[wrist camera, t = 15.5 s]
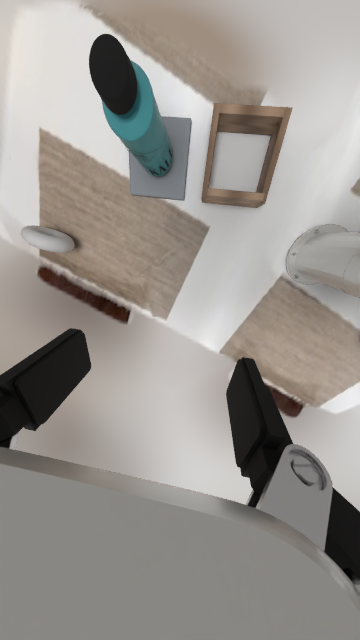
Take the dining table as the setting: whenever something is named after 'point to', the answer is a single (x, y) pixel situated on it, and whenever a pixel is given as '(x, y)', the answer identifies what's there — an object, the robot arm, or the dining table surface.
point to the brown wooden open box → (248, 122)
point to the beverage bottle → (130, 104)
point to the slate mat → (175, 178)
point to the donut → (47, 239)
